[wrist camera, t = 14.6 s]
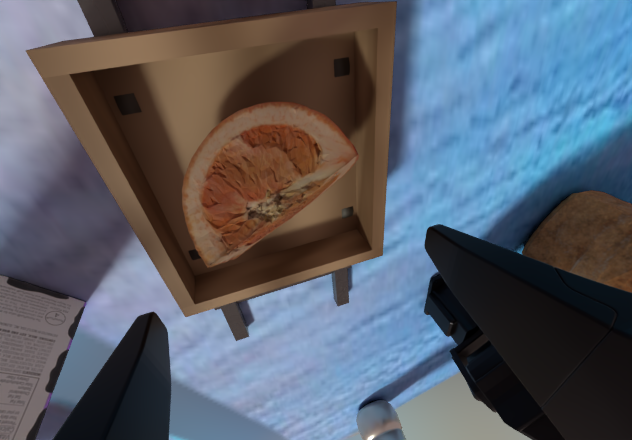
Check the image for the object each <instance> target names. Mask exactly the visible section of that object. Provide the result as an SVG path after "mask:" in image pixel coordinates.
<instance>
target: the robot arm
mask: <svg viewBox="0 0 632 440" xmlns="http://www.w3.org/2000/svg"><path fill="white" fill-rule="evenodd" d="M425 249H426V252H427V253H428V255H429V256H430V258H431V260H432V261H433V263H434V265H435V266H436V268H437V270H438V271H439V273H440V274H441V275H439V276H436V277H434V278H432V279H431V281H430V285H429V289H428V294H427V299H426V304H425V309H424V312H425V314H426V315H431V317H432V318H433V319H434V321H435V322H436V323H437V324H438V326H439V327H440V328H441V330H442V331H443V332H444V334H445V335H446V336H448V337H449V336H451V337H452V338H453V339H454V341H455V342H456V343H457V345H458V346H457V347H456V348H453V349H451V350H450V353H451V354H452V359H453V360H454V362H455V363H456V365H457V366H458V368H459V370H460V371H461V373H462V375H463V376H464V378H465V380H466V382H467V384H468V386H469V388H470V390H471V392H472V394H473V396H474V398H475V399H476V400H478V401H482V402H483V403H484V404H486V406H487V407H488V408H490V409H491V410H492V411H493V412H497V413H498V414H499V415H500V417H501V418H502V420H503V421H504V422H505V423H506V424H507V425H509V426H510V427H512V428H513V429H515V430H517V431H519V432H520V433H522V434H524V435H525V436H527V437H529V438H531V439H532V440H632V293H631V292H628V291H624V290H621V289H618V288H615V287H612V286H609V285H605V284H602V283H599V282H596V281H593V280H590V279H587V278H584V277H582V276H579V275H576V274H573V273H570V272H568V271H565V270H562V269H560V268H557V267H553V266H551V265H549V264H546V263H543V262H541V261H538V260H535V259H533V258H530V257H527V256H524V255H522V254H519V253H516V252H514V251H511V250H508V249H506V248H503V247H500V246H498V245H495V244H492V243H489V242H487V241H484V240H481V239H479V238H476V237H473V236H471V235H468V234H465V233H463V232H460V231H457V230H455V229H452V228H449V227H446V226H444V225H441V224H437V225H434V226H431V227H429V228H428V229H427V233H426V239H425ZM170 402H171V372H170V357H169V343H168V332H167V329H166V327H165V325H164V324H163V323H162V321H161V320H160V318H159V317H158V315H157V314H156V313H155V312H150V313H146V314H143V315H140V316H138V317H137V319H136V320H135V321H134V323H133V324H132V326H131V327H130V329H129V330H128V331H127V333H126V334H125V336H124V337H123V339H122V340H121V342H120V343H119V344H118V346H117V347H116V349H115V350H114V352H113V353H112V355H111V356H110V357H109V359H108V360H107V362H106V363H105V365H104V366H103V368H102V369H101V371H100V372H99V373H98V375H97V376H96V378H95V379H94V381H93V382H92V383H91V385H90V386H89V388H88V389H87V391H86V392H85V394H84V395H83V397H82V398H81V399H80V401H79V402H78V404H77V405H76V407H75V408H74V410H73V411H72V412H71V414H70V415H69V417H68V418H67V420H66V421H65V423H64V424H63V425H62V427H61V428H60V430H59V431H58V433H57V434H56V436H55V437H54V438H53V440H169V422H170Z"/></svg>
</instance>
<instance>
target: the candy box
mask: <svg viewBox="0 0 632 440" xmlns="http://www.w3.org/2000/svg"><path fill="white" fill-rule="evenodd" d="M85 306H86V302H84V301H81V300H78V299H75V298H72V297H69V296H66V295H63V294H60V293H57V292H53V291H50V290H46V289H43V288H40V287H37V286H34V285H31V284H29V283H26V282H22V281H19V280H16V279H13V278H9V277H6V276H3V275H0V440H35V439H36V436H37V433H38V430H39V428H40V425H41V423H42V420H43V417H44V415H45V412H46V409H47V407H48V404H49V401H50V398H51V396H52V393H53V390H54V387H55V385H56V382H57V380H58V377H59V375H60V372H61V370H62V367H63V364H64V361H65V359H66V356H67V353H68V351H69V348H70V345H71V343H72V340H73V337H74V335H75V332H76V330H77V327H78V324H79V322H80V319H81V316H82V314H83V311H84V308H85Z"/></svg>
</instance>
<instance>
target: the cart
mask: <svg viewBox="0 0 632 440" xmlns="http://www.w3.org/2000/svg"><path fill="white" fill-rule="evenodd" d="M396 6H397V1H395V2H360V3H352V4H345V5H337V6H329V7H321V8H314V9H306V10H298V11H291V12H283V13H275V14H268V15H260V16H252V17H244V18H237V19H229V20H221V21H214V22H206V23H198V24H191V25H183V26H175V27H167V28H160V29H152V30H144V31H137V32H129V33H121V34H114V35H106V36H98V37H90V38H83V39H75V40H67V41H61V42H57V43H54V44H50V45H46V46H42V47H38V48H34V49H30V50H26V52H27V54H28V56H29V57H30V59H31V61H32V62H33V64H34V66H35V67H36V69H37V71H38V72H39V74H40V75H41V77H42V79H43V80H44V82H45V84H46V85H47V87H48V89H49V90H50V92H51V94H52V95H53V97H54V99H55V100H56V102H57V104H58V105H59V107H60V109H61V110H62V112H63V114H64V115H65V117H66V119H67V120H68V122H69V124H70V125H71V127H72V129H73V130H74V132H75V134H76V135H77V137H78V139H79V140H80V142H81V144H82V145H83V147H84V149H85V150H86V152H87V154H88V155H89V157H90V159H91V160H92V162H93V164H94V165H95V167H96V169H97V170H98V172H99V174H100V175H101V177H102V179H103V180H104V182H105V184H106V185H107V187H108V189H109V190H110V192H111V194H112V195H113V197H114V199H115V200H116V202H117V204H118V205H119V207H120V209H121V210H122V212H123V214H124V215H125V217H126V219H127V220H128V222H129V224H130V225H131V227H132V229H133V230H134V232H135V234H136V235H137V237H138V239H139V240H140V242H141V244H142V245H143V247H144V249H145V250H146V252H147V254H148V255H149V257H150V259H151V260H152V262H153V264H154V265H155V267H156V269H157V270H158V272H159V274H160V275H161V277H162V279H163V280H164V282H165V284H166V285H167V287H168V289H169V290H170V292H171V294H172V295H173V297H174V299H175V300H176V302H177V304H178V305H179V307H180V309H181V310H182V312H183V314H184V315H185V317H188V316H191V315H194V314H198V313H201V312H204V311H207V310H210V309H213V308H217V307H220V306H223V305H226V304H229V303H233V302H236V301H239V300H242V299H245V298H248V297H252V296H255V295H258V294H261V293H264V292H268V291H271V290H274V289H277V288H280V287H284V286H287V285H290V284H293V283H296V282H299V281H303V280H306V279H309V278H312V277H315V276H319V275H322V274H325V273H328V272H331V271H334V270H338V269H341V268H344V267H347V266H350V265H354V264H357V263H360V262H363V261H366V260H370V259H373V258H376V257H379V256H382V255H383V240H384V222H385V204H386V186H387V168H388V150H389V132H390V114H391V96H392V78H393V60H394V42H395V24H396ZM266 102H294V103H297V104H301V105H304V106H306V107H308V108H309V109H312V110H316V111H318V112H320V113H322V114H324V115H325V116H327V117H328V118H329V119H330V120H332V121H333V122H334V123H335V124H336V125H337V126H338V127H339V128H340V129H341V130H342V131H343V133H344V134H345V135H346V137H347V138H348V139H349V140H350V142H351V143H352V144H353V145H354V147H355V148H356V151H357V153H358V155H359V157H358V160H357V161H356V163H355V164H354V165H353V167H352V168H351V169H350V170H349V171H348V172H347V173H346V174H345V175H344V176H343V177H342V178H341V179H339V180H338V181H337V182H335V183H334V184H333V185H332V186H331V187H330V188H329V189H328V190H327V191H325V192H324V193H323V194H322V195H321V196H320V197H318V198H317V199H316V200H315V201H313V202H312V203H311V204H309V205H308V206H307V207H306V208H304V209H303V210H302V211H300V212H299V213H298V214H296V215H295V216H294V217H292V218H291V219H290V220H288V221H287V222H285V223H284V224H282V225H281V226H280V227H278V228H277V229H275V230H274V231H273V232H271V233H270V234H268V235H266V236H265V237H264V238H262V239H261V240H260V241H259V242H257V243H256V244H255V245H254V246H252V247H251V248H250V249H249V250H247V251H245V252H244V253H243V254H242V255H240V256H239V257H238V258H236V259H234V260H229V261H228V262H225V263H221V264H218V265H215V266H213V267H209V268H208V267H207V266H206V264H205V263H204V261H203V259H202V258H201V257H200V255H199V254H198V251H197V250H196V248H195V245H194V242H193V240H192V239H191V237H190V234H189V231H188V227H187V224H186V221H185V215H184V211H183V204H182V198H183V195H182V188H183V180H184V177H185V174H186V171H187V168H188V166H189V163H190V161H191V158H192V157H193V155H194V154H195V152H196V151H197V149H198V147H199V146H200V144H201V143H202V142H203V140H204V139H205V138H206V137H207V135H208V134H209V133H210V132H211V130H212V129H213V128H215V127H216V126H217V125H218V124H220V123H221V122H222V121H223V120H224V119H226V118H227V117H229V116H231V115H232V114H234V113H235V112H237V111H239V110H242V109H244V108H248V107H251V106H254V105H257V104H261V103H266Z"/></svg>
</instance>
